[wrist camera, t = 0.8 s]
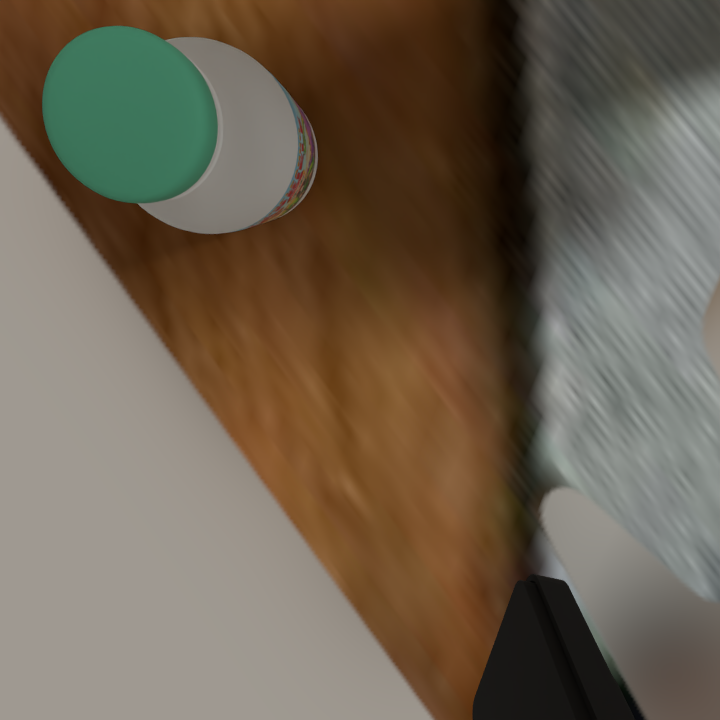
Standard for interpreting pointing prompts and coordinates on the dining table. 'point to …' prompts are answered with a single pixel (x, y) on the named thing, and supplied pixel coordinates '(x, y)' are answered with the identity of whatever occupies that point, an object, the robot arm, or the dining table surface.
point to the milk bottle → (178, 129)
